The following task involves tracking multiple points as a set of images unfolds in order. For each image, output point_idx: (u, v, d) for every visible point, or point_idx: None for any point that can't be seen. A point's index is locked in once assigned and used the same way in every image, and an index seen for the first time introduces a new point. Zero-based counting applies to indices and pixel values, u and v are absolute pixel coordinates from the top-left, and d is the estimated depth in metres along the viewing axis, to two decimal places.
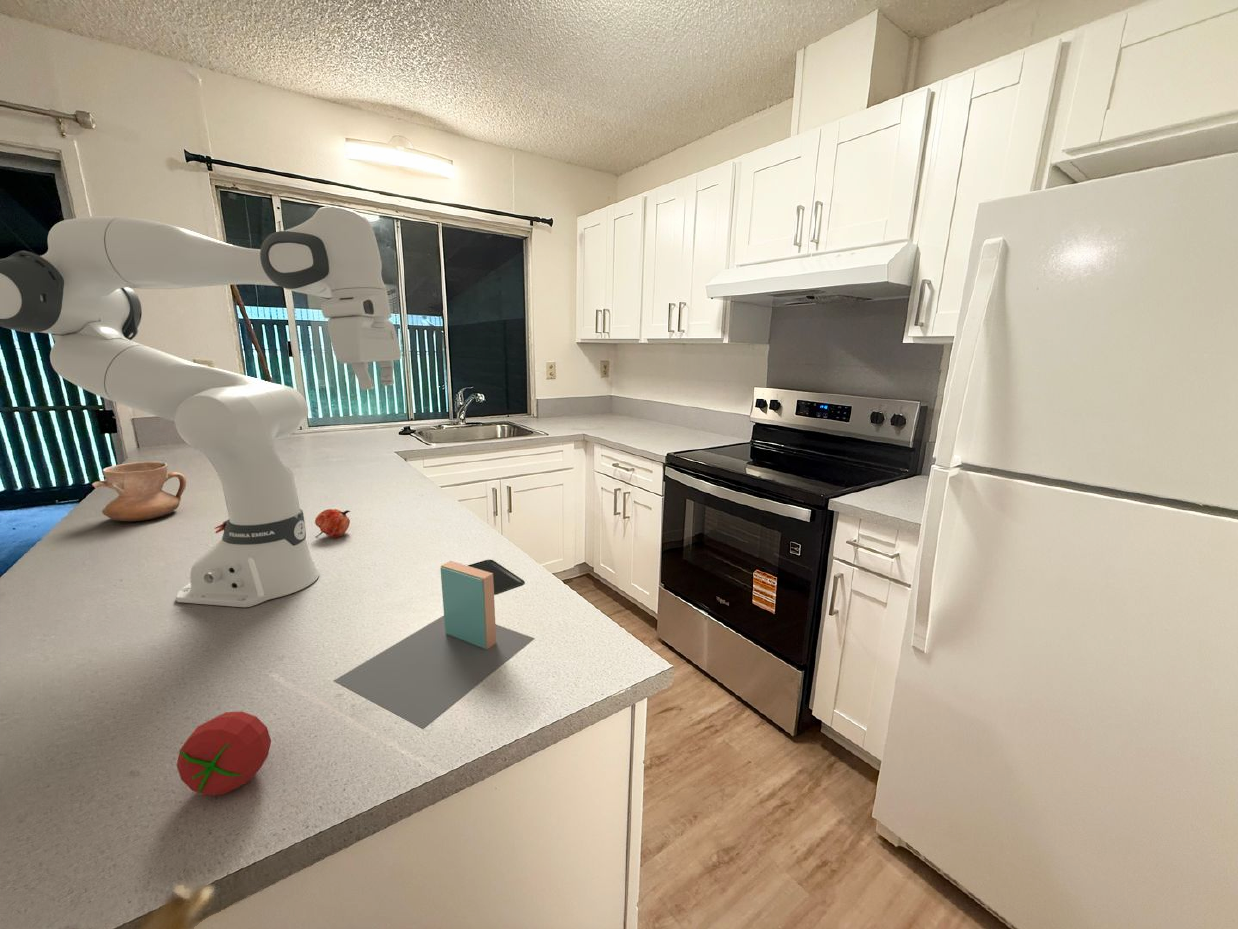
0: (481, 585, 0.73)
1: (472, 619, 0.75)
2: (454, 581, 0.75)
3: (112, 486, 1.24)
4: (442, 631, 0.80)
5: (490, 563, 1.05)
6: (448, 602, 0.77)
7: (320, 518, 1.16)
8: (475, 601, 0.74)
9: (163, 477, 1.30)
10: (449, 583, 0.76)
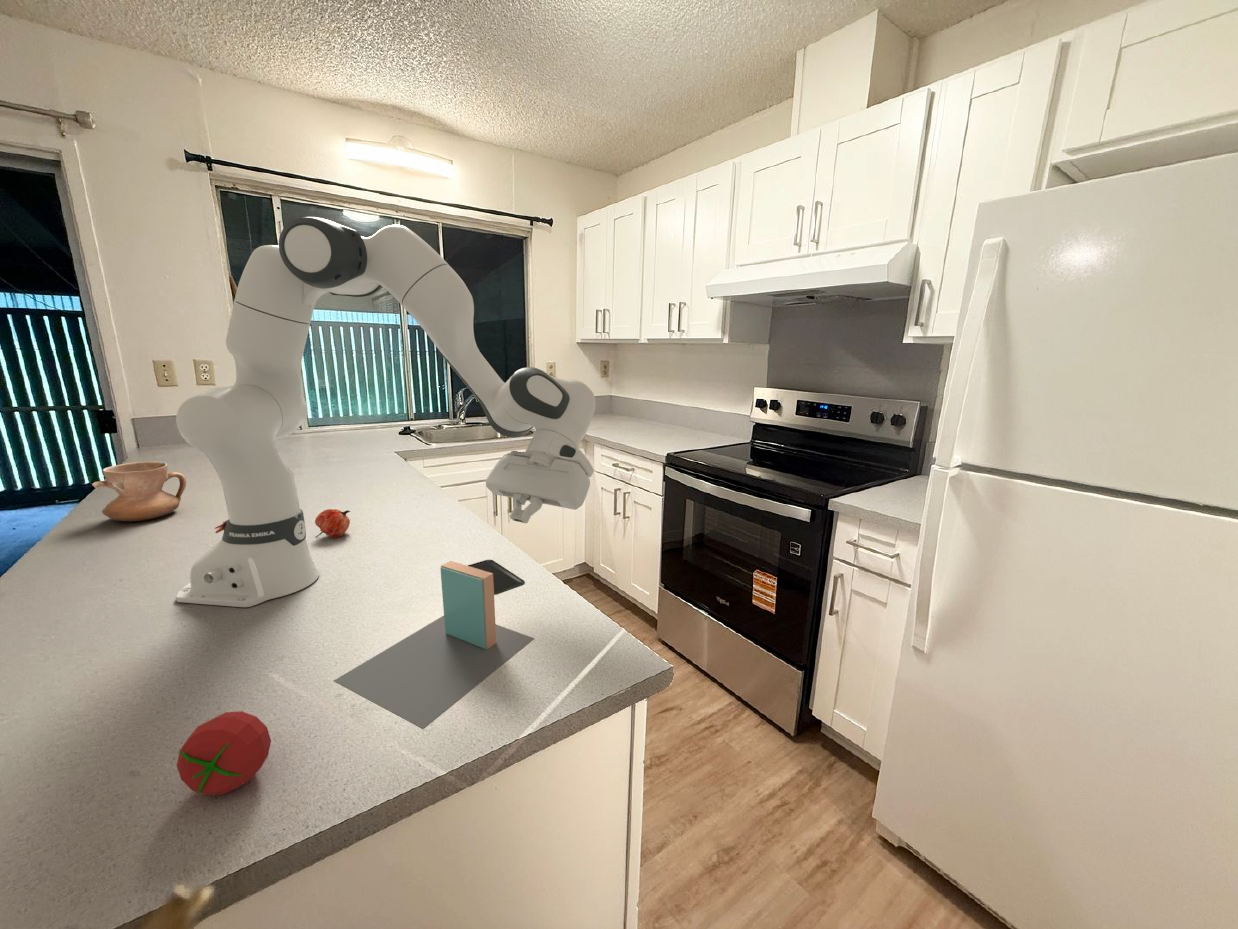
0: (481, 585, 0.73)
1: (472, 619, 0.75)
2: (454, 581, 0.75)
3: (112, 486, 1.24)
4: (442, 631, 0.80)
5: (490, 563, 1.05)
6: (448, 602, 0.77)
7: (320, 517, 1.16)
8: (475, 601, 0.74)
9: (163, 477, 1.30)
10: (449, 583, 0.76)
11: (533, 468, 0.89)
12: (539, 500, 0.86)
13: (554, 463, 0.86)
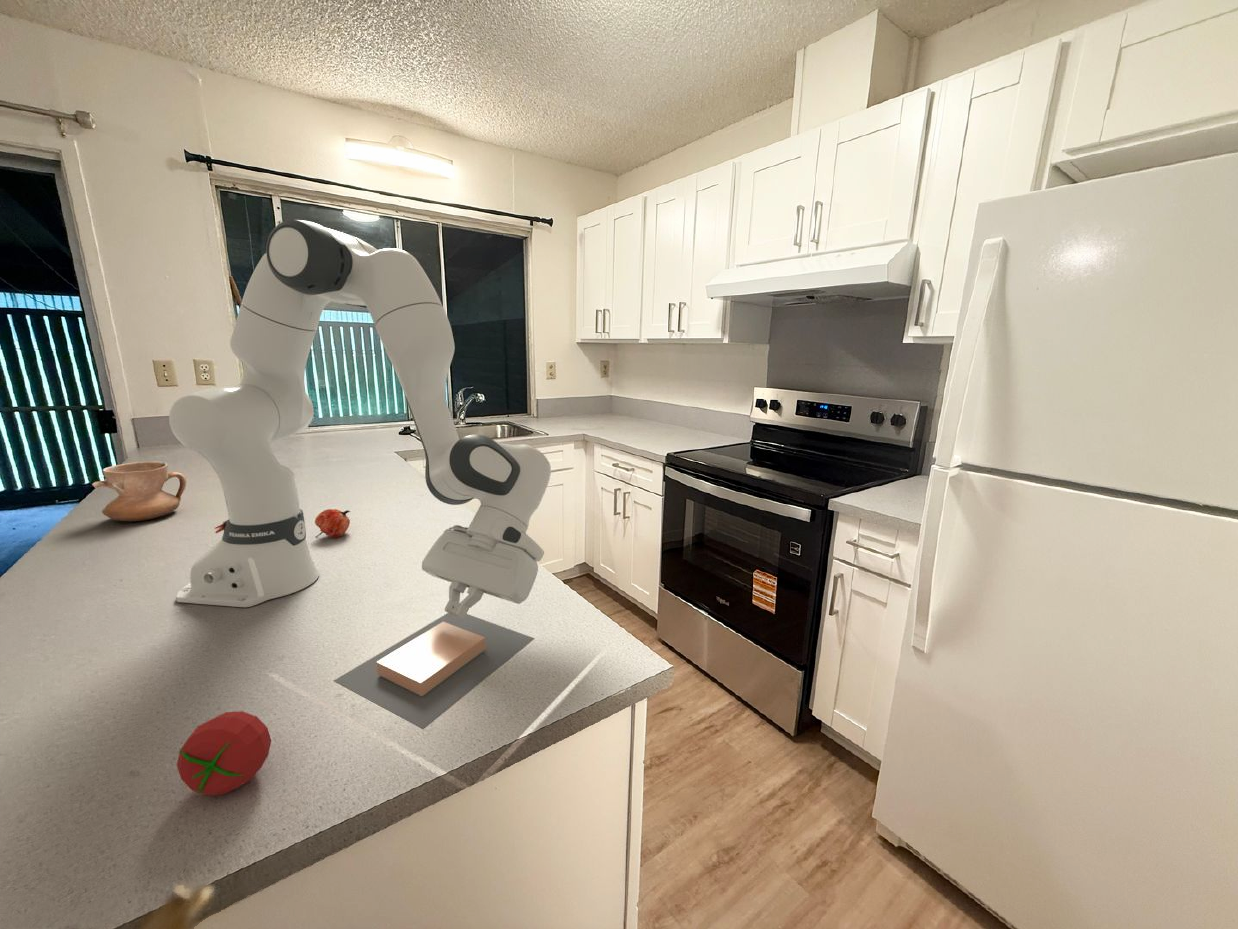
0: (427, 692, 0.66)
1: None
2: None
3: (112, 486, 1.24)
4: None
5: None
6: None
7: (320, 518, 1.16)
8: None
9: (163, 477, 1.30)
10: None
11: (474, 551, 0.78)
12: (479, 591, 0.75)
13: (496, 548, 0.75)
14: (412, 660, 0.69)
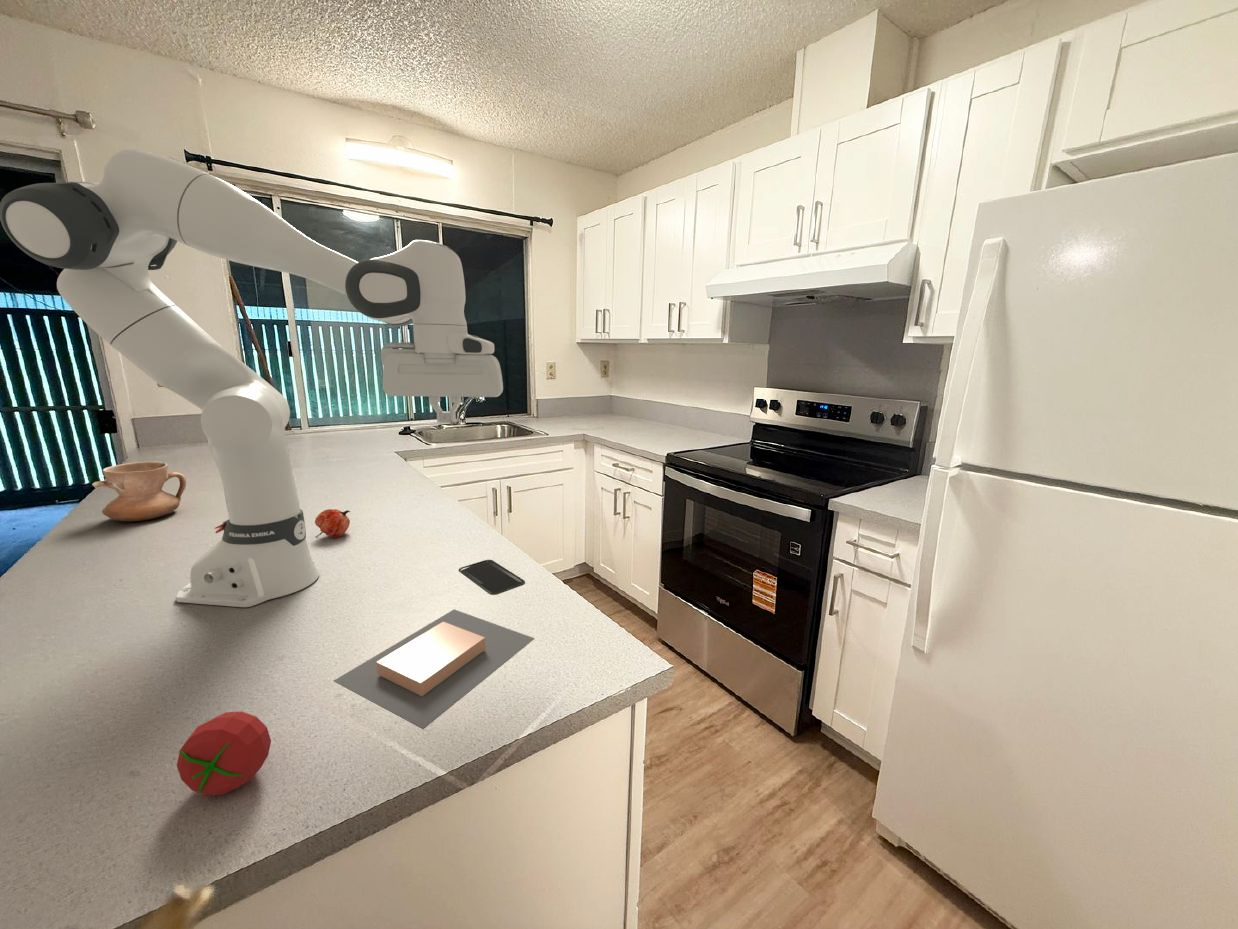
0: (427, 692, 0.66)
1: None
2: None
3: (112, 486, 1.24)
4: None
5: (490, 563, 1.05)
6: None
7: (320, 518, 1.16)
8: None
9: (163, 477, 1.30)
10: None
11: (435, 366, 0.84)
12: (459, 397, 0.86)
13: (461, 360, 0.83)
14: (412, 660, 0.69)
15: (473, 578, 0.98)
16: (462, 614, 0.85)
